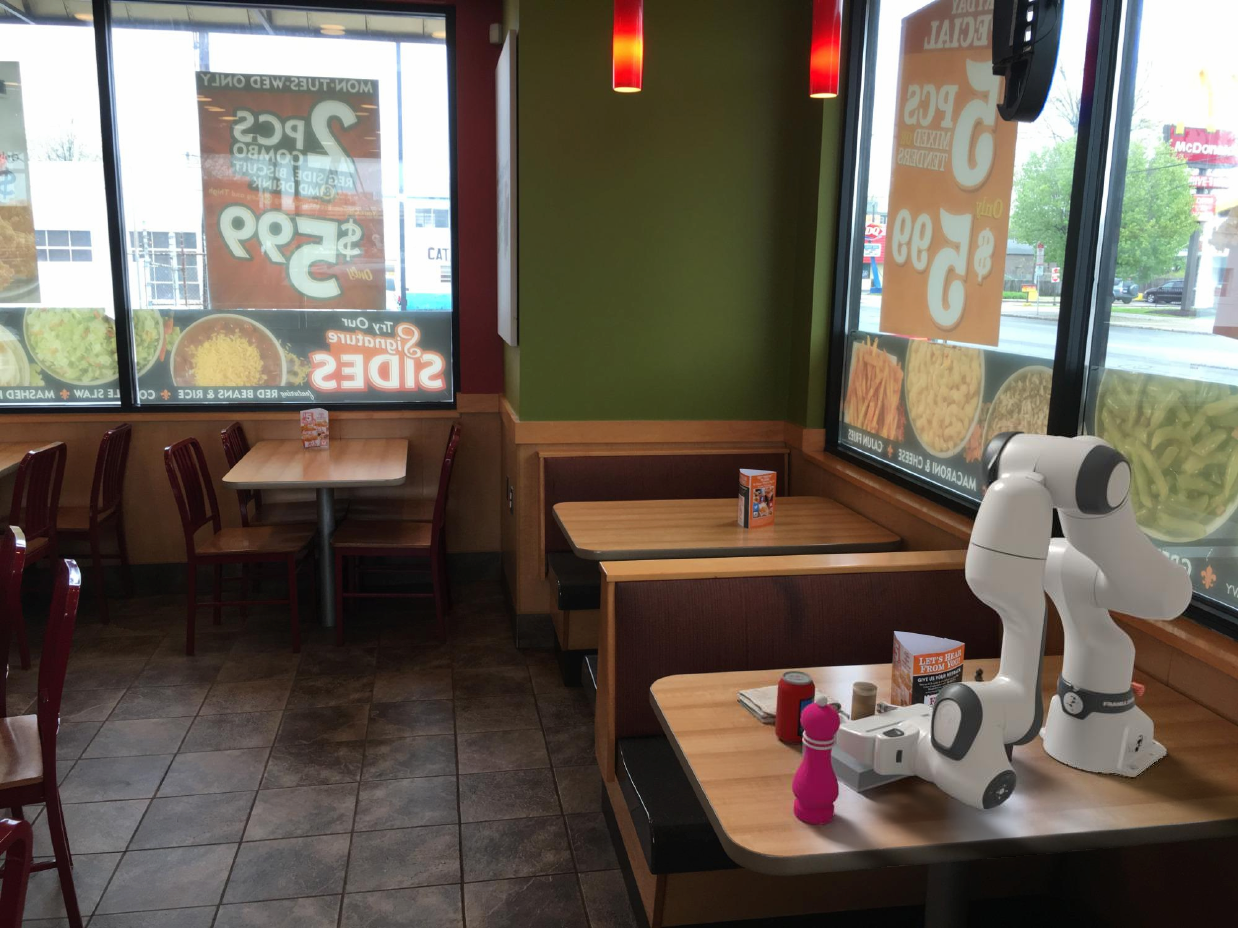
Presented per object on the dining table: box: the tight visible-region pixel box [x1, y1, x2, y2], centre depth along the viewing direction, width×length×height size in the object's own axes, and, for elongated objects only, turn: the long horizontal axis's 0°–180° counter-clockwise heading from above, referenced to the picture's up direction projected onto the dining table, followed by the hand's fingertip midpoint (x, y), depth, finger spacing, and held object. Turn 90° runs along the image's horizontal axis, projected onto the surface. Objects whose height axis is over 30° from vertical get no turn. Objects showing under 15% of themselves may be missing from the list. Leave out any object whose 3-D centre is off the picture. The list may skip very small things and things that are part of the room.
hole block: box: [801, 732, 911, 793], centre depth 167 cm, size 14×14×4 cm
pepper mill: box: [791, 695, 840, 825], centre depth 149 cm, size 7×7×20 cm
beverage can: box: [774, 670, 816, 745], centre depth 175 cm, size 7×7×12 cm
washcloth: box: [736, 684, 842, 724], centre depth 189 cm, size 12×18×3 cm, turn 113°
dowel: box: [850, 681, 878, 721], centre depth 166 cm, size 4×4×14 cm
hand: (859, 711), depth 166 cm, fingers open, 8 cm apart
